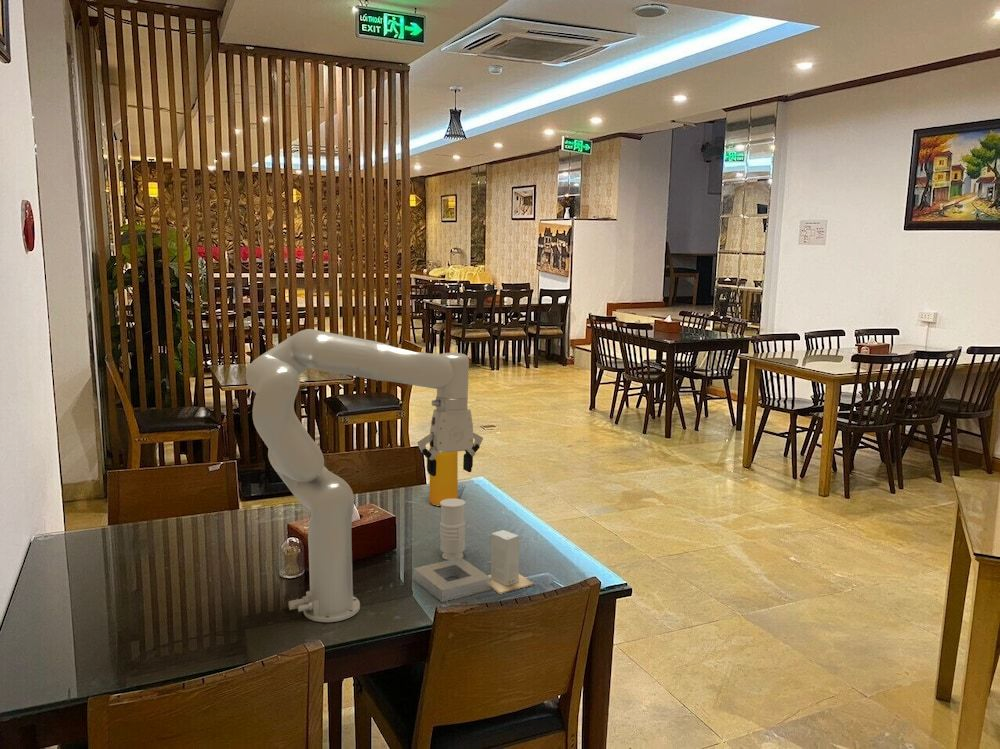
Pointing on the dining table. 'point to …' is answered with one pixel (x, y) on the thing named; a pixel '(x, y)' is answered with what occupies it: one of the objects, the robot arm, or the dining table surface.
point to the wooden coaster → (503, 588)
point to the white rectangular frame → (464, 586)
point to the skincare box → (505, 557)
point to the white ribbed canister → (452, 528)
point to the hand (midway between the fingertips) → (449, 472)
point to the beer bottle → (444, 478)
